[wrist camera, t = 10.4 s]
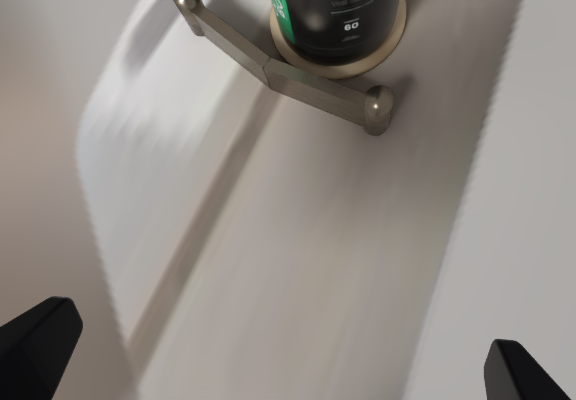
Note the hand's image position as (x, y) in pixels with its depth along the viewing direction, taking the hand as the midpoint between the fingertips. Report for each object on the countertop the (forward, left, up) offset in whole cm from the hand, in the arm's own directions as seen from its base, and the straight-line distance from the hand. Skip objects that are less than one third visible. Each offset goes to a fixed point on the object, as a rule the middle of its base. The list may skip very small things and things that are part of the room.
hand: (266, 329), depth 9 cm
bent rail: (+9, +9, -13) cm, 19 cm away
